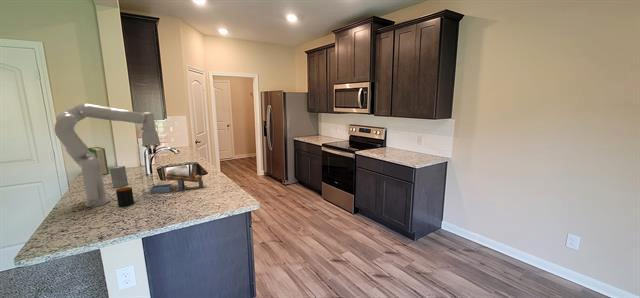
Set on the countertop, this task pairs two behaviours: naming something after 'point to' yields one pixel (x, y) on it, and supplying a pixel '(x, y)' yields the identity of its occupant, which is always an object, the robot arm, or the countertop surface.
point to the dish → (160, 188)
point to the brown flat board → (182, 177)
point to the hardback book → (100, 158)
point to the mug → (125, 197)
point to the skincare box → (118, 176)
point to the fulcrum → (181, 186)
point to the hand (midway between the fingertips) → (152, 153)
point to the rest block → (201, 184)
